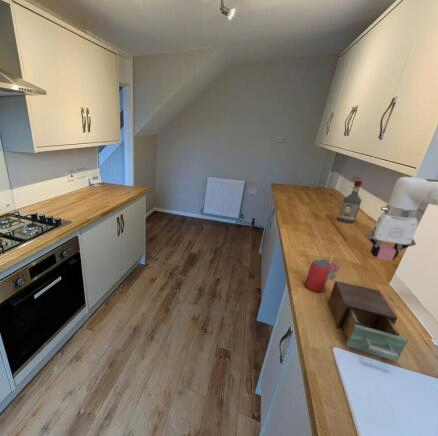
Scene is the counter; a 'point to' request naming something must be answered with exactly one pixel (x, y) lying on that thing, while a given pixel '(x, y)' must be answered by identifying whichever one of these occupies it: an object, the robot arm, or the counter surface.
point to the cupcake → (332, 266)
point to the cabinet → (357, 302)
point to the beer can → (317, 275)
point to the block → (386, 252)
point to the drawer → (373, 334)
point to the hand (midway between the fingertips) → (382, 256)
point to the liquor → (350, 205)
